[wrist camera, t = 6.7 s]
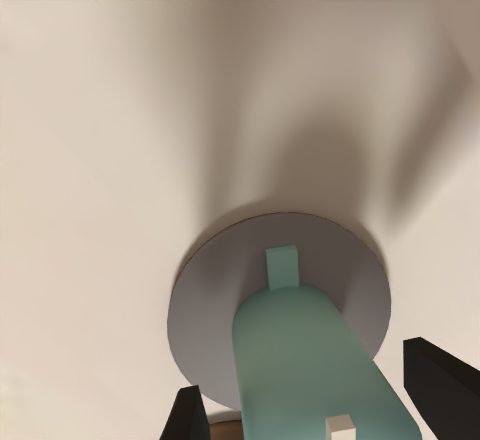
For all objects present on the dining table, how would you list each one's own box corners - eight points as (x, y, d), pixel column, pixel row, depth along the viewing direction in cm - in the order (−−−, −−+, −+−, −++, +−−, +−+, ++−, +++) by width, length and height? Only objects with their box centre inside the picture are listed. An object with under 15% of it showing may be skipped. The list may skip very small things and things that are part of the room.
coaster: (380, 192, 14) (388, 195, 13) (386, 379, 17) (393, 388, 16) (142, 237, 13) (140, 243, 13) (194, 422, 16) (194, 433, 16)
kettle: (338, 364, 15) (425, 525, 9) (237, 381, 15) (260, 559, 9) (336, 238, 13) (446, 338, 7) (220, 254, 13) (234, 372, 7)
